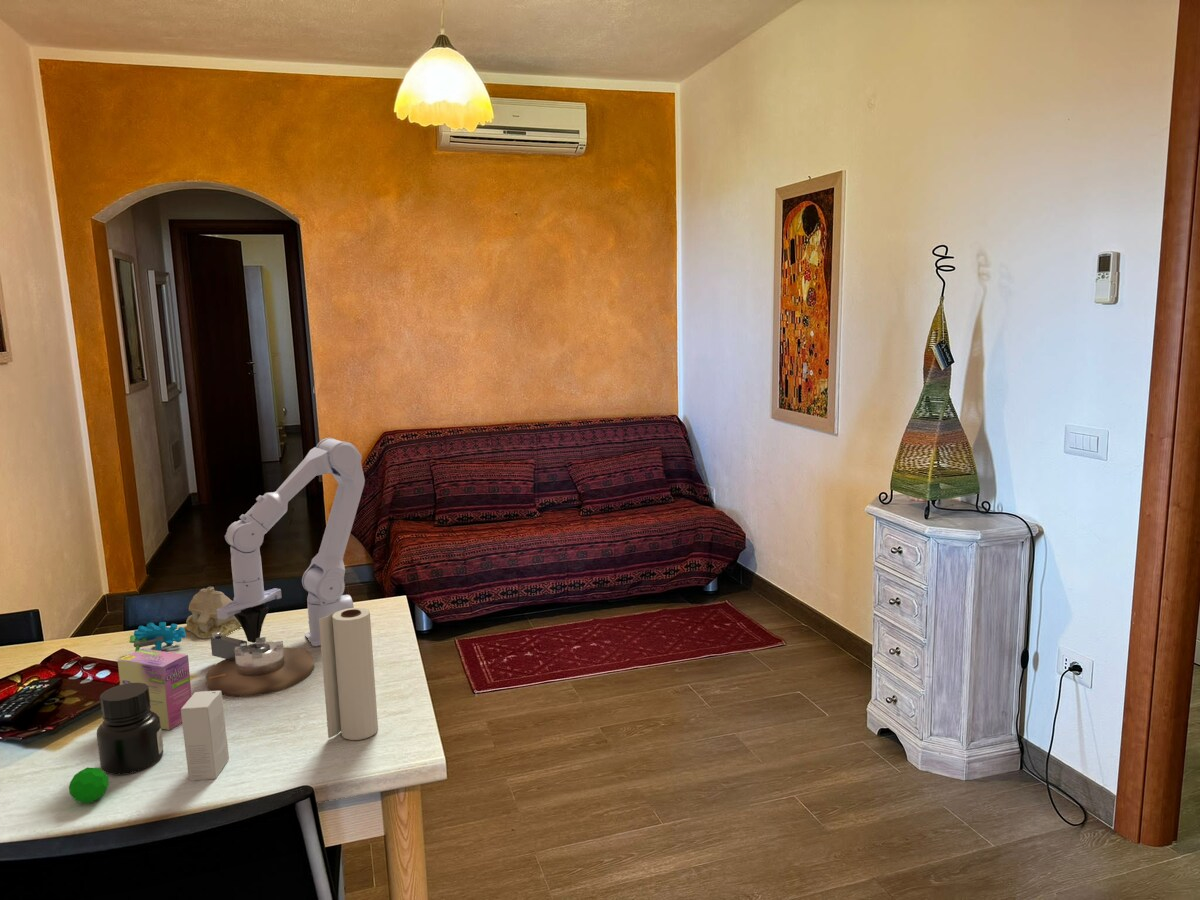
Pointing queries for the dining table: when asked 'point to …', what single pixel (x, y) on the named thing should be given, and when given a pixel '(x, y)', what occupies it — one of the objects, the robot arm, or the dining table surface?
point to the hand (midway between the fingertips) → (253, 641)
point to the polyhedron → (88, 785)
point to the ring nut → (249, 654)
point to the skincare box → (205, 735)
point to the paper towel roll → (349, 673)
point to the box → (160, 681)
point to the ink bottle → (128, 730)
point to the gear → (157, 635)
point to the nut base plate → (237, 684)
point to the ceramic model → (209, 614)
